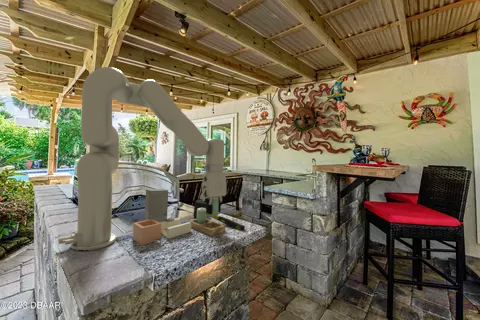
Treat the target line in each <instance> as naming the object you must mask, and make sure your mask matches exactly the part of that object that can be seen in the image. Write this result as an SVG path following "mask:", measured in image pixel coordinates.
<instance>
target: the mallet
mask: <svg viewBox="0 0 480 320" xmlns="http://www.w3.org/2000/svg"><path fill="white" fill-rule="evenodd" d="M198 208H205V209H206V204H205V202H204V201H203V200H202V199H197V200H195V203H194V207H193V215H192V217H193V216H194V218H193V219H197V209H198ZM207 216H208V217H210V218H211V219H212V218H213V219H214V220H216V221H217V222H219V223H221V224H223V225H226V226H228V227H231V228H233V229H236V230H238V231H240V232H241V231H245V229H246V226H245V225H243V224H240V223H238V222H236V221H234V220H231V219H229V218H226V217H225V216H222V215H219V214H218V215H217V216H209V214H207V213H206V217H207Z"/></svg>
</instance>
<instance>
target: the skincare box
mask: <svg viewBox="0 0 480 320" xmlns="http://www.w3.org/2000/svg"><path fill="white" fill-rule="evenodd" d="M144 198H145V201H144V218H143V219H144V220H143V221H145V220H150V219H153V220H155V221H157V222H163V221H165V219H168V204H169V189H167V188H166V189H165V188H146V189H145V197H144Z"/></svg>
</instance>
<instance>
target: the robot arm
mask: <svg viewBox="0 0 480 320" xmlns="http://www.w3.org/2000/svg"><path fill="white" fill-rule="evenodd" d="M81 93H82V94H81V122H80V123H81V124H80V125H81V127H80V137H81V139H82V141H83V143H84V144H86V145H87V146H89V152H87V153H84V154H83V155H82V156H81V157H80V158H79V160H78V162H77V164H76V176H77V177H76V178H77V186H78V187H77V190H78V191H77V192H78V193H77V194H78V195H77V199H78V200H77V202H78V203H77V230H75V231H74V233H73V234H70V235H69V236H62V237H58V238H57V243H58V245H62V244H64V246H66V245H70V248H71V249H72V250H74V249H75V250H74V251H78V250H84V252H85V250H88V251H93V250H94V251H95V250H99V249H103V248H106V247H108V246H110V245H112V244H113V243H114V242H116V239H117V236H116V235H115V234H114V233H112V213H113V212H112V211H113V210H112V209H113V180H112V179H113V177H112V176H113V175H112V174H114V173H115V172H116V171H117V170H118V168H119V161H120V159H119V158H120V155H119V154H120V137H119V132H118V130H117V129H116V128H115V127H114V126H113V103H112V102H113V100H114V101H117V102H119V103H123V104H128V105H133V106H138V107H142V108H143V107H144V108H149V109H150V110H151V112H153V114H154V115H155V116H156V117H157V119H158V120H159V122H160V123H162V124H163V126H164V127H166V128H167V129H168V130H170V131H171V132H172V133H174V134H175V135H176V137H178V139H179V140H180V141H181V142H182V143H183V144H184V145H185V149H186V151H187V153H188V154H189V155H190V156H192V157H203V156H205V166H204V167H203V169H204V170H205V172H203V178H202V185H201V186H202V187H201V194H200V196H199V200H203V201H204V202H205V204H206V213H207V214H210V215H211V214H212V208H213V205H212V204H211V203H212V198H213V197H218V198H219V206H218V213H221V211H222V208H221V207H222V202H223V200H224V198H225V196H226V195H227V178H226V172H225V171H224V168H225V166H224V164H225V140H223V139H220V138H208V139H206V137H205V136H204V134H203V133H202V132H201V130H200V129H199V128H198V127H197V126H196V125H195V123H194V122H193V121H192V120H191V119H190V118H189V117H188V116H187V115H186V114H185V113H184V112H183V111H182V110H181V109H180V108H179V106H178V105H177V104H176V103H175V101H173V99H172V97H171V96H170V95H169V94H168V93H167V91H166V90H165V88H164V87H163V86H162V85H161V84H160V83H159V82H158V81H156V80H154V79H146V80H143V81H142V82H141V83H140V84H139V83H134V82H131V81H130V82H129V79H128V77H127V76H126V75H125V74H124V73H123V72H122V71H121V70H120V69H117V68H115V67H112V66H103V67H99V68H97V69H95V70H93V71H92V72H91V73H89V74H88V75H87V77H86V78H85V80H84V83H83V86H82V90H81Z"/></svg>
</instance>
